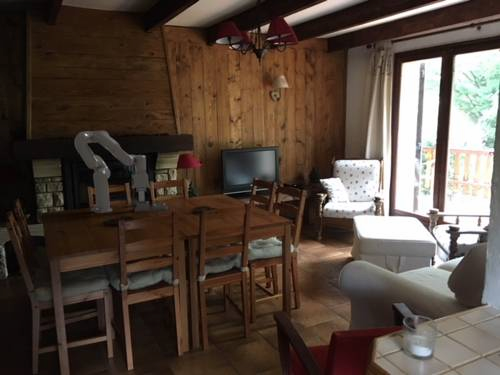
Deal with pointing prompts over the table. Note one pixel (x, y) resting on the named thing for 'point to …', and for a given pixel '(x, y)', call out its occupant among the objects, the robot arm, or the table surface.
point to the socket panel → (145, 207)
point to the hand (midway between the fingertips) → (141, 196)
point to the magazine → (146, 197)
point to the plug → (141, 194)
